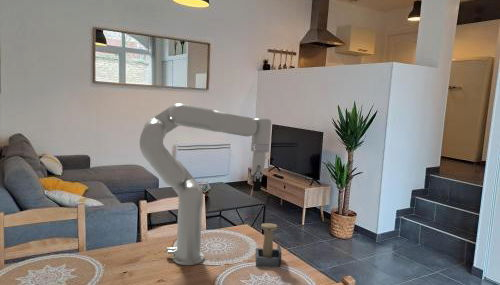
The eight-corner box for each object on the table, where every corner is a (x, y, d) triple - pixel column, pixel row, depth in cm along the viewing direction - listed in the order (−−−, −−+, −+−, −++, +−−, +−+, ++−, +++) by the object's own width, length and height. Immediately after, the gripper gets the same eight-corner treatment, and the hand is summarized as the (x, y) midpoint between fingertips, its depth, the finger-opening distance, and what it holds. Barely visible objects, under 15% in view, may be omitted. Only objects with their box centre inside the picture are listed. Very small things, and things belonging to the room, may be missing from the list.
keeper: (255, 265, 142) (256, 251, 141) (255, 256, 150) (256, 242, 150) (280, 267, 142) (281, 252, 141) (278, 257, 151) (279, 243, 150)
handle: (275, 263, 143) (277, 227, 142) (259, 262, 144) (261, 226, 142) (274, 258, 148) (276, 223, 147) (259, 257, 148) (261, 222, 147)
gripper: (251, 144, 156) (248, 182, 158) (250, 149, 139) (247, 192, 141) (268, 146, 156) (265, 184, 158) (269, 151, 138) (266, 193, 140)
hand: (257, 187), depth 149 cm, fingers open, 9 cm apart
